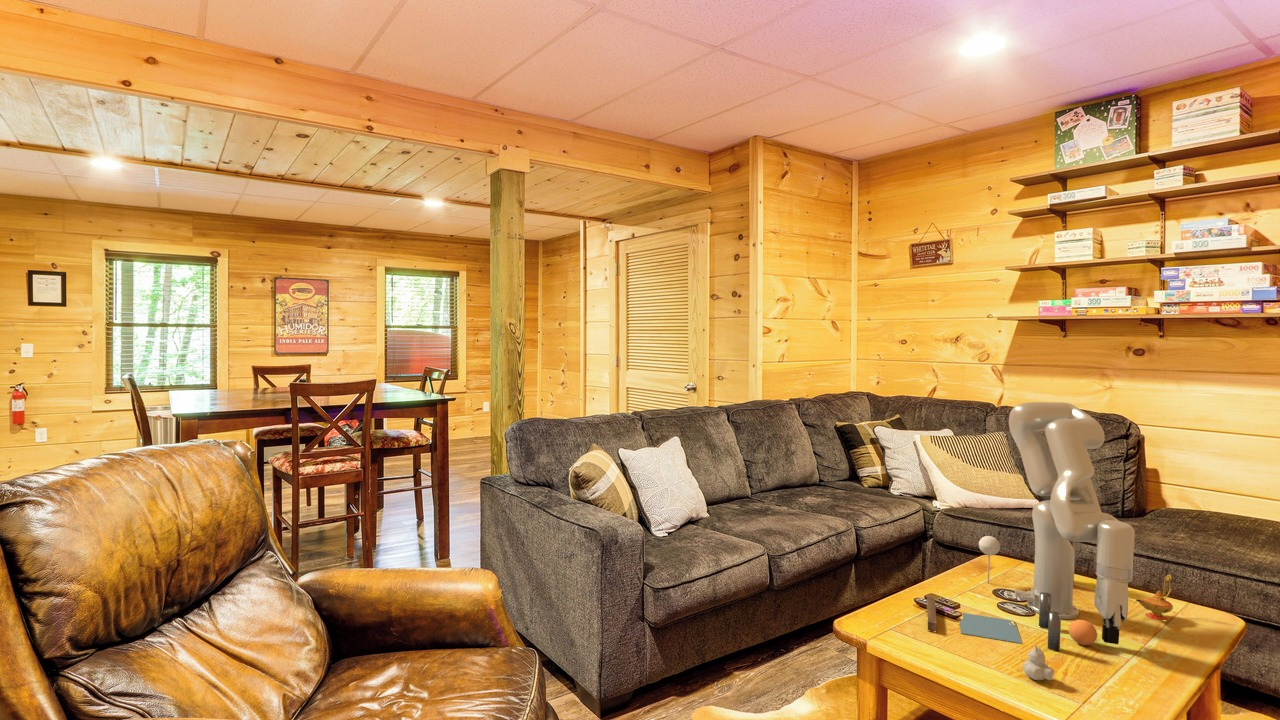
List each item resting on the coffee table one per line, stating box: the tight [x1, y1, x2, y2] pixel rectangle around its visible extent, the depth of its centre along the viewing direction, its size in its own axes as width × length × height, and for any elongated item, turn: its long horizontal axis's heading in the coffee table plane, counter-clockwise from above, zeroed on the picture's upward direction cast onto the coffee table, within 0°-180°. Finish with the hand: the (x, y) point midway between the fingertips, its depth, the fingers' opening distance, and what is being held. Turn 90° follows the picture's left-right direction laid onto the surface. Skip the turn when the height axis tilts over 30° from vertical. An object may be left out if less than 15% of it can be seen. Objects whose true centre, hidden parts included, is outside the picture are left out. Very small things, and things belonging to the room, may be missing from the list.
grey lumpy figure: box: [1022, 643, 1055, 681], centre depth 151 cm, size 5×7×8 cm
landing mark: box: [958, 612, 1023, 645], centre depth 177 cm, size 14×14×1 cm
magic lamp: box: [1135, 574, 1174, 622], centre depth 183 cm, size 7×18×11 cm, turn 118°
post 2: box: [1047, 611, 1062, 652], centre depth 165 cm, size 3×3×9 cm
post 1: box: [1038, 592, 1051, 629], centre depth 177 cm, size 3×3×9 cm
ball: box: [1068, 619, 1098, 646], centre depth 168 cm, size 6×6×6 cm
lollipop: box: [978, 535, 1001, 584], centre depth 208 cm, size 6×6×15 cm
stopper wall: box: [926, 596, 937, 632], centre depth 182 cm, size 2×18×2 cm, turn 157°
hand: (1110, 641), depth 167 cm, fingers closed
